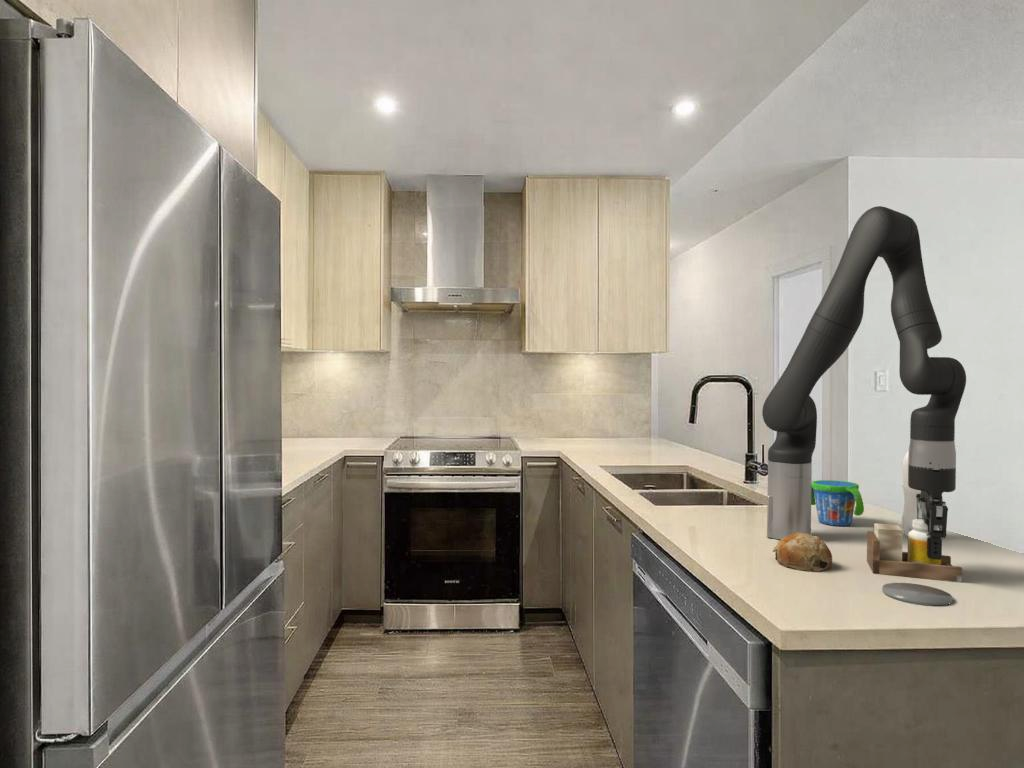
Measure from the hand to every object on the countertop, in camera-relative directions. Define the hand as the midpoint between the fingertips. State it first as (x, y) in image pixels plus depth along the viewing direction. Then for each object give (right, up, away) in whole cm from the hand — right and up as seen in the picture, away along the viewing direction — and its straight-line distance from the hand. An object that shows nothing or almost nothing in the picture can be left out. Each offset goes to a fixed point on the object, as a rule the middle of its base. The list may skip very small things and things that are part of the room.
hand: (930, 554), depth 124 cm
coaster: (-10, -4, -13) cm, 17 cm away
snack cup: (+2, -3, +42) cm, 42 cm away
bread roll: (-22, -4, +5) cm, 23 cm away
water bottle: (+15, -3, +28) cm, 32 cm away
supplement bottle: (-1, -4, 0) cm, 4 cm away
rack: (-3, -3, +1) cm, 5 cm away
